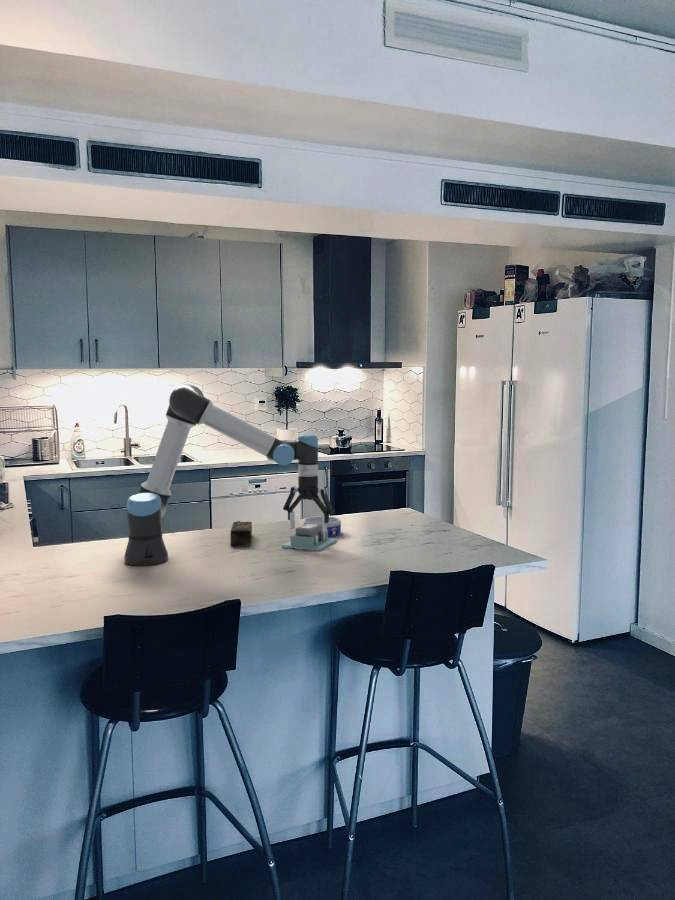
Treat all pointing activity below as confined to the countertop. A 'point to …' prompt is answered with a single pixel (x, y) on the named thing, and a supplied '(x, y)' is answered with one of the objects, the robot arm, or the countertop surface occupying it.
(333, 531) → the dog bowl
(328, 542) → the pin tray
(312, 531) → the block
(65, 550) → the countertop surface
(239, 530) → the beverage carton
